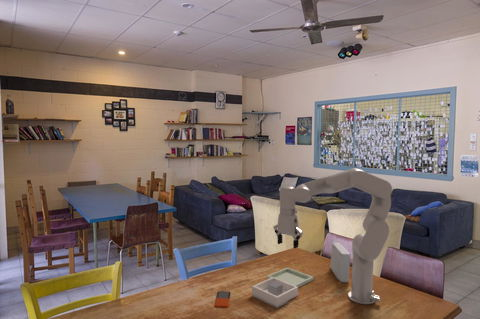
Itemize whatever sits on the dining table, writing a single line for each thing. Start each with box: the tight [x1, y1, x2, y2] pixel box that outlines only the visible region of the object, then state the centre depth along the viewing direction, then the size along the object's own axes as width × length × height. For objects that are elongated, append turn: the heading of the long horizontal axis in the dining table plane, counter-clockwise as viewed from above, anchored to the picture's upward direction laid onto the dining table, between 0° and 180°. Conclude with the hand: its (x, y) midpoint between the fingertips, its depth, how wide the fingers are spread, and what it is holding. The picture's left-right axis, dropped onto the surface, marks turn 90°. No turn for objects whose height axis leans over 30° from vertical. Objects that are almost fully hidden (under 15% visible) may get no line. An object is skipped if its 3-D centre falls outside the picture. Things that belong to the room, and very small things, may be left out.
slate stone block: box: [268, 282, 282, 296], centre depth 162 cm, size 5×5×5 cm
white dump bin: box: [251, 277, 299, 309], centre depth 162 cm, size 16×16×5 cm
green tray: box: [266, 267, 314, 289], centre depth 180 cm, size 18×18×2 cm
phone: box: [213, 290, 231, 308], centre depth 159 cm, size 6×1×15 cm
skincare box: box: [329, 242, 351, 283], centre depth 189 cm, size 21×6×16 cm, turn 179°
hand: (287, 245), depth 164 cm, fingers open, 9 cm apart
